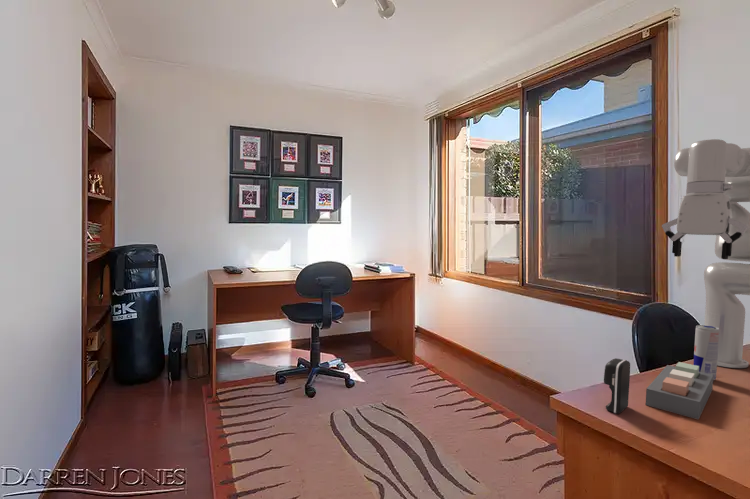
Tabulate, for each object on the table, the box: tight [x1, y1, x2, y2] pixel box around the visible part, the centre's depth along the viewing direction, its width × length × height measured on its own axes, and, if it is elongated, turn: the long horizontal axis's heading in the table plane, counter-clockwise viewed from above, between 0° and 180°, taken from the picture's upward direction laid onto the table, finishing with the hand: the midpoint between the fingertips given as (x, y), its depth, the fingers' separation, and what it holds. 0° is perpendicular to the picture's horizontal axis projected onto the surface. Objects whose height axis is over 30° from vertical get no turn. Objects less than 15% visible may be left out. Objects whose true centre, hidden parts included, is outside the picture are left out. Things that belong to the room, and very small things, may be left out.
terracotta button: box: [662, 377, 689, 396], centre depth 96 cm, size 4×4×3 cm
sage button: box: [675, 361, 699, 378], centre depth 107 cm, size 4×4×3 cm
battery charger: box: [603, 358, 631, 415], centre depth 95 cm, size 7×4×11 cm, turn 132°
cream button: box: [669, 369, 694, 387], centre depth 102 cm, size 4×4×3 cm
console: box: [645, 364, 714, 421], centre depth 102 cm, size 24×10×4 cm, turn 135°
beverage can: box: [692, 324, 719, 381], centre depth 114 cm, size 5×5×15 cm
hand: (700, 257), depth 104 cm, fingers open, 9 cm apart
